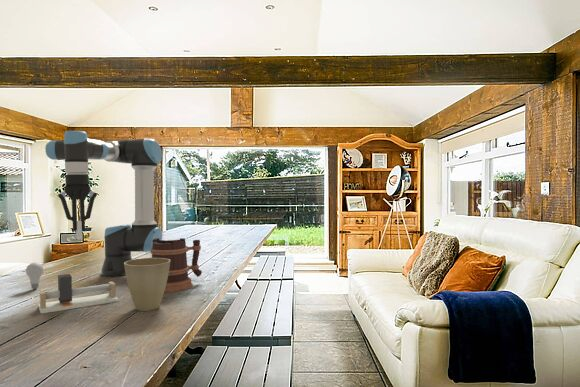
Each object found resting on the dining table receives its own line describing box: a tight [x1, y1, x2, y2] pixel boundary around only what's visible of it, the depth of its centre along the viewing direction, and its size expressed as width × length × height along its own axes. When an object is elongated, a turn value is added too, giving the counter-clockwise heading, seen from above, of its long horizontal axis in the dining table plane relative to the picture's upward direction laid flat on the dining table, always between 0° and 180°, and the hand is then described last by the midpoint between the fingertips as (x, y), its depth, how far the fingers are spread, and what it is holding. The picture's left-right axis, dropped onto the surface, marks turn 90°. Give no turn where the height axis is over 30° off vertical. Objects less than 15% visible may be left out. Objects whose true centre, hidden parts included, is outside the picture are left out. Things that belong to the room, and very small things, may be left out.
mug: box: [150, 237, 203, 293], centre depth 169 cm, size 18×23×20 cm
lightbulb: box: [25, 262, 44, 290], centre depth 167 cm, size 6×6×11 cm
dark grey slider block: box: [57, 273, 73, 303], centre depth 142 cm, size 4×5×9 cm, turn 35°
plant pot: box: [124, 257, 170, 312], centre depth 139 cm, size 15×15×16 cm
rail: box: [38, 281, 119, 314], centre depth 145 cm, size 24×10×6 cm, turn 125°
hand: (79, 238), depth 149 cm, fingers closed
